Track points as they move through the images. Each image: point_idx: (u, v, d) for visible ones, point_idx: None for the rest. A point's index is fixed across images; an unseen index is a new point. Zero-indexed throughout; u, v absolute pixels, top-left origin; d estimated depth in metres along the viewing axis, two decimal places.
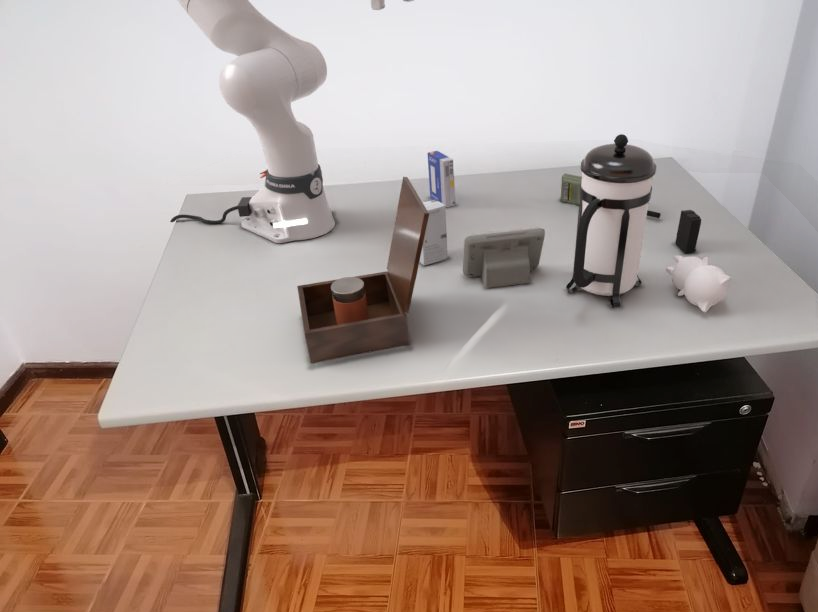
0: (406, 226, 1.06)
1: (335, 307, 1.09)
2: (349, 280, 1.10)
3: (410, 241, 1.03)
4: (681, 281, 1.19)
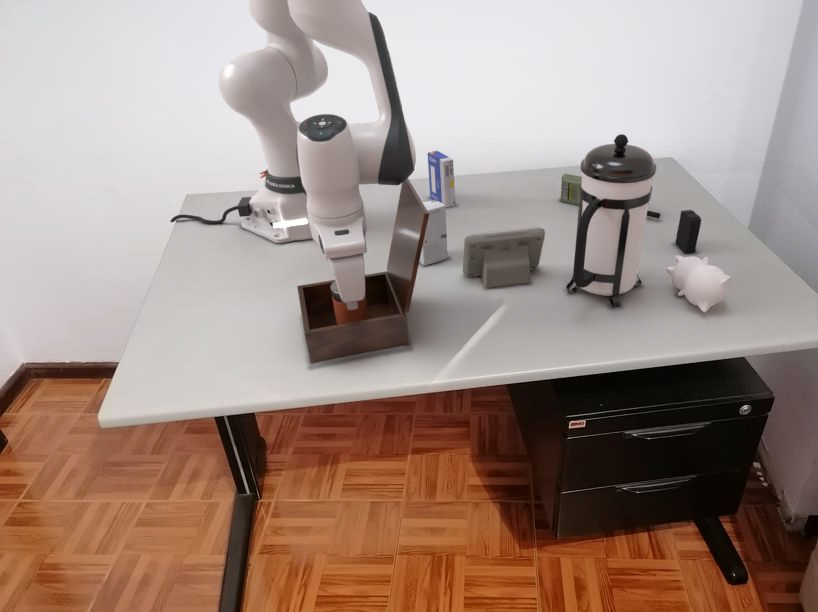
0: (406, 226, 1.06)
1: (335, 307, 1.09)
2: None
3: (410, 241, 1.03)
4: (681, 281, 1.19)
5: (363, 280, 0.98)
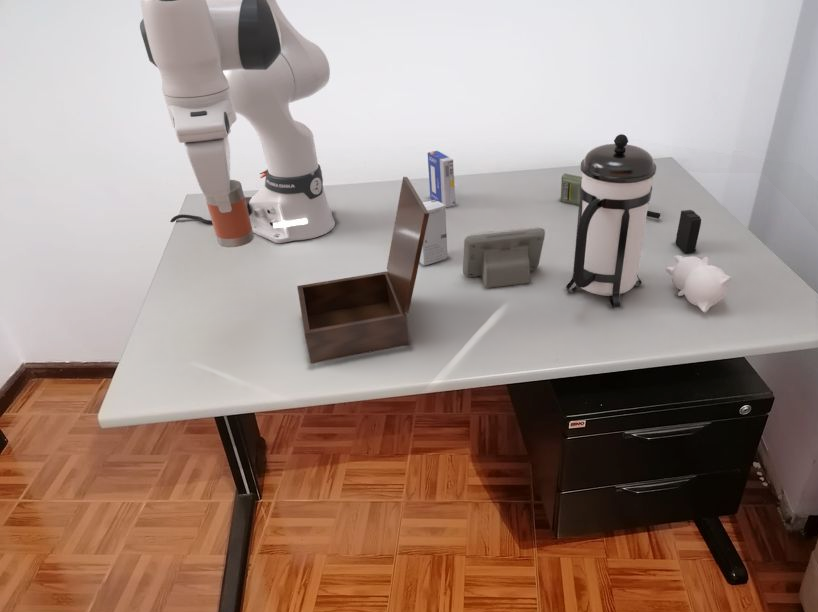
0: (406, 226, 1.06)
1: (209, 212, 0.98)
2: None
3: (410, 241, 1.03)
4: (681, 281, 1.19)
5: (225, 169, 0.87)
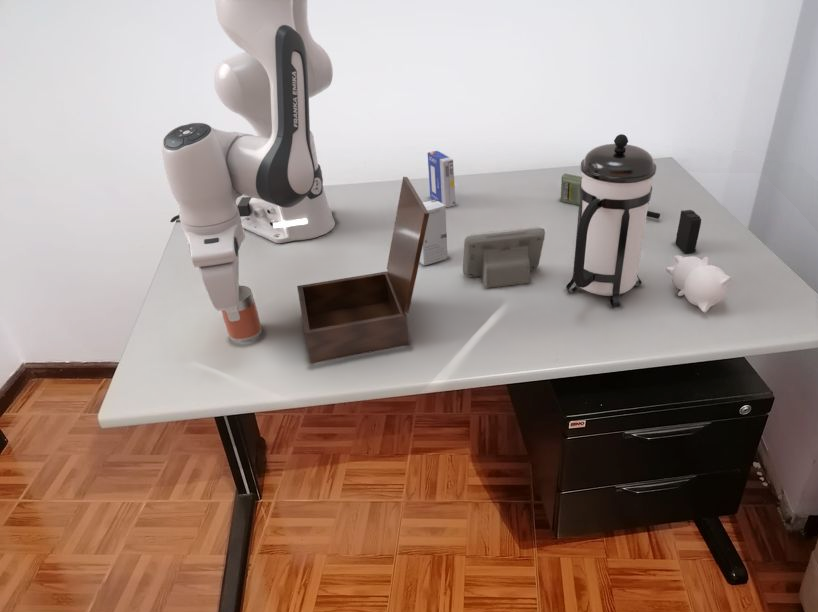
0: (406, 226, 1.06)
1: (223, 315, 1.10)
2: None
3: (410, 241, 1.03)
4: (681, 281, 1.19)
5: (234, 288, 0.98)
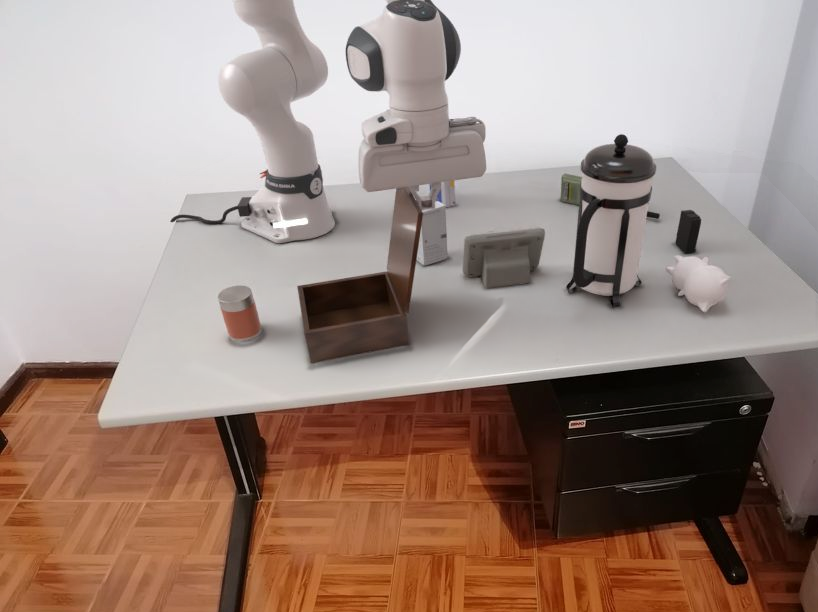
0: (402, 226, 1.05)
1: (223, 315, 1.10)
2: (237, 289, 1.10)
3: (406, 241, 1.03)
4: (681, 281, 1.19)
5: (362, 170, 0.96)
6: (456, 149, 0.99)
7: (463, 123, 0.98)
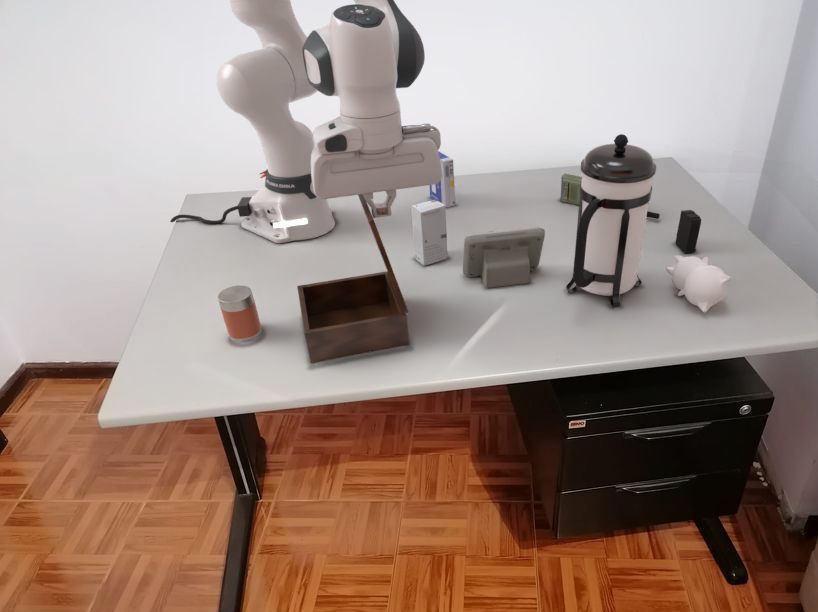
0: None
1: (223, 315, 1.10)
2: (237, 289, 1.10)
3: (378, 247, 1.02)
4: (681, 281, 1.19)
5: (313, 177, 0.95)
6: (410, 156, 0.97)
7: (417, 130, 0.96)
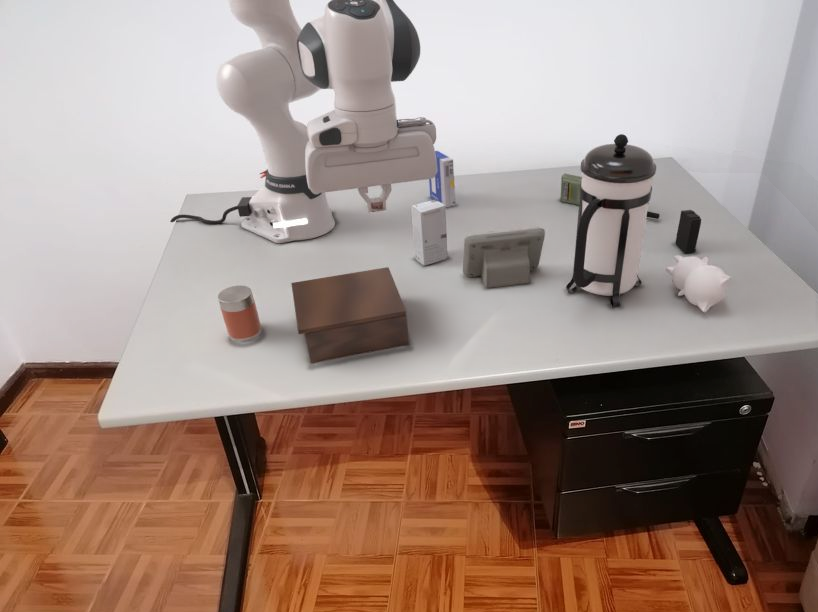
0: None
1: (223, 315, 1.10)
2: (237, 289, 1.10)
3: None
4: (681, 281, 1.19)
5: (307, 171, 0.94)
6: (405, 150, 0.97)
7: (412, 124, 0.96)
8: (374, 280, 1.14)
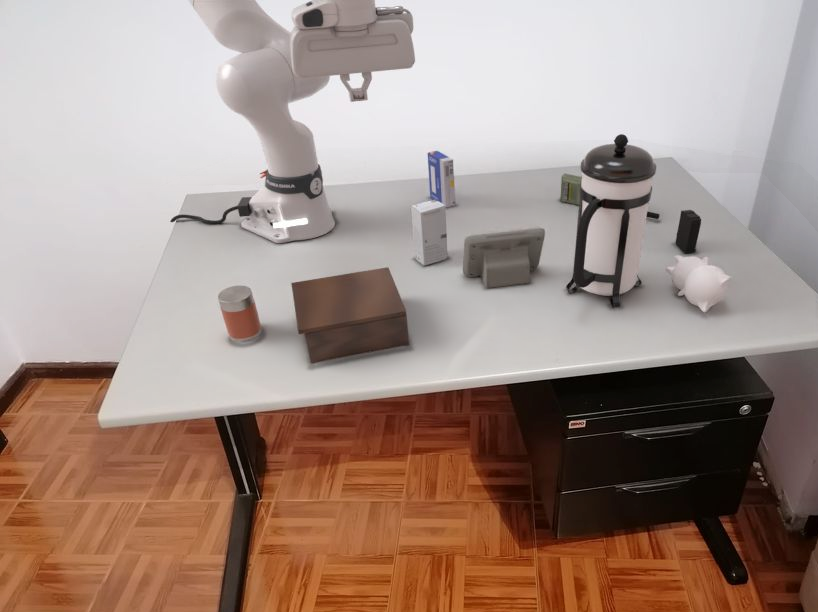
0: None
1: (223, 315, 1.10)
2: (237, 289, 1.10)
3: None
4: (681, 281, 1.19)
5: (292, 54, 1.00)
6: (384, 37, 1.03)
7: (390, 12, 1.02)
8: (374, 280, 1.14)
